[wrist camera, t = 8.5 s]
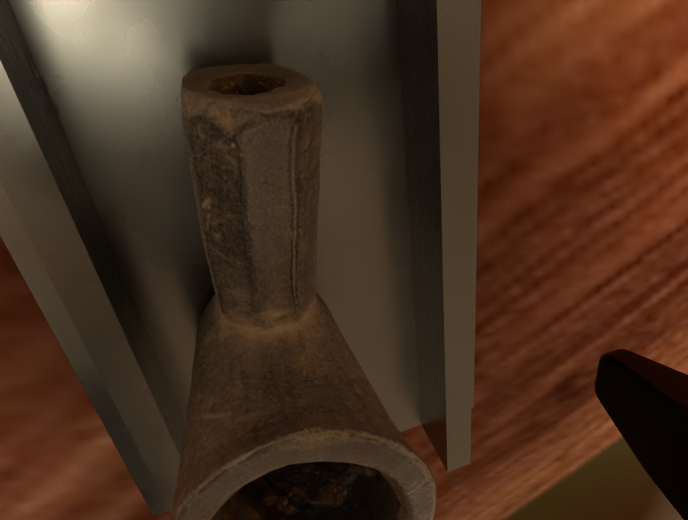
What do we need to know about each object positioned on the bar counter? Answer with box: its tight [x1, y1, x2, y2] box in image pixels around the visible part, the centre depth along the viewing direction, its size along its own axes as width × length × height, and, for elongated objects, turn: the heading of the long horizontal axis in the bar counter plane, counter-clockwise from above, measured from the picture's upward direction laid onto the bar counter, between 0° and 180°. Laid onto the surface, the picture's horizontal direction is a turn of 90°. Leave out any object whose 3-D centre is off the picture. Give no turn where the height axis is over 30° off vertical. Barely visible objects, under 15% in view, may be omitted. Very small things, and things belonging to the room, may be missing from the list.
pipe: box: [170, 63, 436, 520], centre depth 14 cm, size 6×13×8 cm, turn 0°
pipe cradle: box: [0, 0, 481, 516], centre depth 16 cm, size 22×14×5 cm, turn 7°
